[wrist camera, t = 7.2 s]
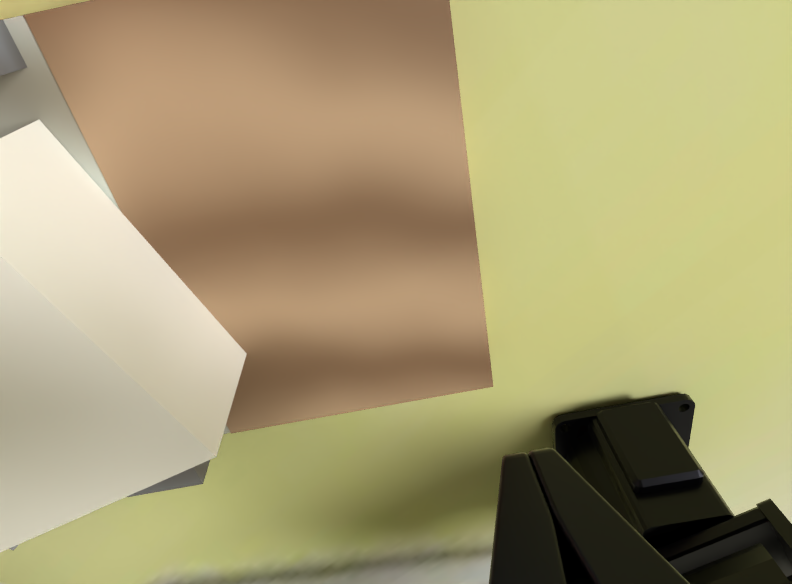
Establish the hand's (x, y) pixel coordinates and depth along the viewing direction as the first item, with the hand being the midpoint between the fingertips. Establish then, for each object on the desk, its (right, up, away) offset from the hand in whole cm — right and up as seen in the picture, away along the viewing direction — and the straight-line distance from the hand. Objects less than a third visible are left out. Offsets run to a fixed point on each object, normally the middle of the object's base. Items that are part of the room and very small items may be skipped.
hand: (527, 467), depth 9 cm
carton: (-14, +2, +10) cm, 18 cm away
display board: (-10, +4, +11) cm, 16 cm away
